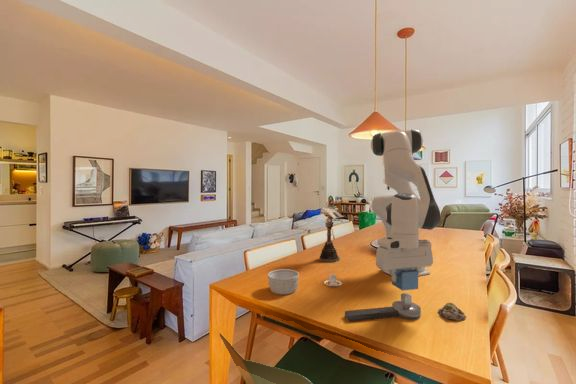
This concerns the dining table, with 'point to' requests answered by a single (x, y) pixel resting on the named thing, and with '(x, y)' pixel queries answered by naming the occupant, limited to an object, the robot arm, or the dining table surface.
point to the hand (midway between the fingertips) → (404, 280)
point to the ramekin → (283, 281)
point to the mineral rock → (452, 312)
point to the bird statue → (329, 250)
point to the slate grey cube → (406, 279)
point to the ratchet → (388, 311)
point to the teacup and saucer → (332, 280)
